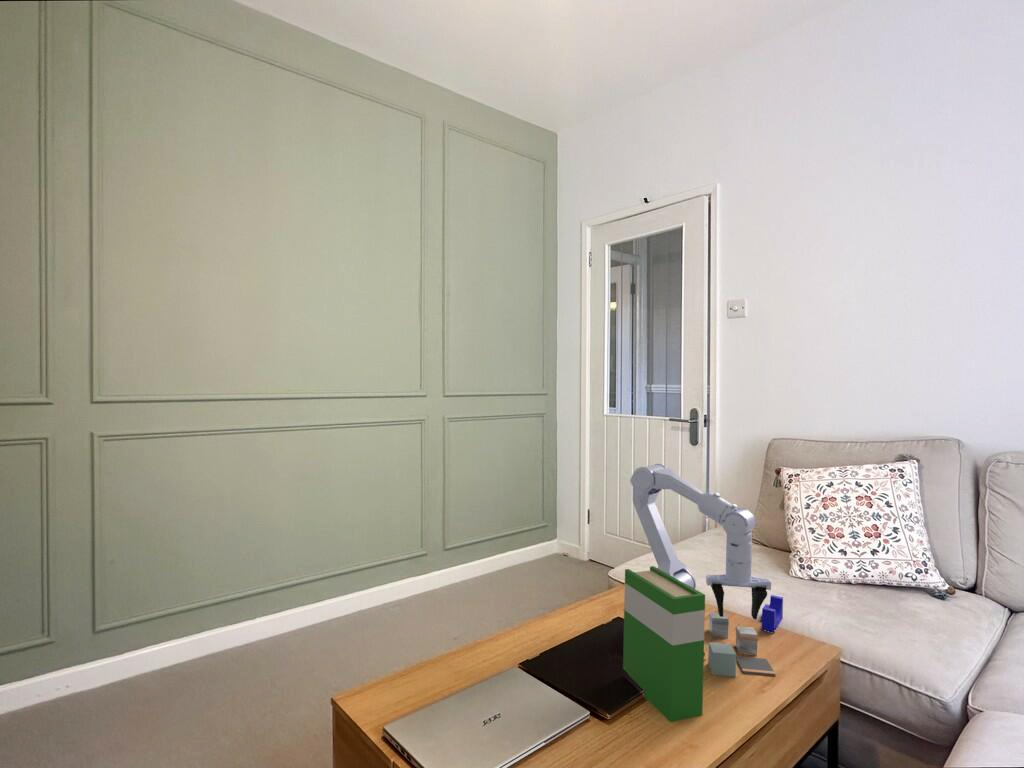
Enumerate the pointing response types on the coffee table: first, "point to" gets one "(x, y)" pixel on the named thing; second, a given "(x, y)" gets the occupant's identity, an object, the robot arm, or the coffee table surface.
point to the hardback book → (665, 641)
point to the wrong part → (718, 625)
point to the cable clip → (772, 614)
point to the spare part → (746, 640)
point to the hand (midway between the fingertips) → (737, 616)
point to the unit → (722, 659)
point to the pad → (755, 666)
